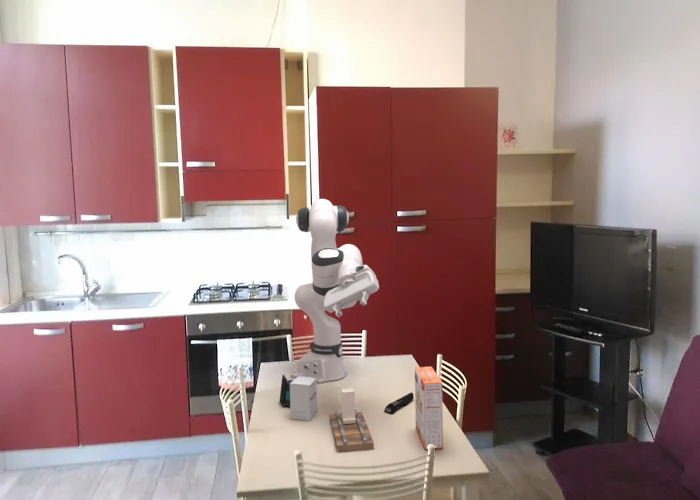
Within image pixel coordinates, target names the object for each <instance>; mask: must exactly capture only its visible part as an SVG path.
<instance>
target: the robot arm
mask: <svg viewBox="0 0 700 500" xmlns="http://www.w3.org/2000/svg"><path fill="white" fill-rule="evenodd" d="M349 219H350V215H349V211H348V210H347V208H346V207H345V206H343V205H339V204H338V205H337V204H336V205H333V204H332V202H331V201H330V200H328V199H326V198H320V199H316V200H314V201H313V203H312V204H311V206H308V207H307V206H305V207H301V208H299V210H298V211H297V214H296V217H295V221H296V225H297V227H298V229H299V231H300V232H303V233H309V232H310V235H311V248H310V255H311V271H312V273H311V274H312V283H311V282H310V283H306V284H302V285H299V286H298V287H297V288H296V290H295V293H294V301H295V305H296V306H297V307H298V308H299V309H300V310H302V311H303V312H304V313H305V314H306V315H307V316H308V317H309V319H310V321H311V324H312V329H313V341H312V342H311V343H310V344H308V348H309V349H310V350H308V352H306V353H305V354H304V355H303V356H301V357H300V358H299V359H298V361H297V366H296V368H294V370H293V371H292V372H291V377H292V378H295V379H296V378H297V377H298V376H299V377H312V378H317V384H318V383H319V384H320V383H326V382H332V381H337V380H340V379H343V378H344V377H345V376H346V375H347V374H346V370H345V367H344V362H343V341H342V336H341V335H342V333H341V331H342V330H341V329H342V328H341V323H340V321H339V320H338V319H336V318H334V317H332V316H329V315H328V314H327V313H326V312H328V313H329V314H332V313H334V312H335V316H336V317H337V318H340V317H342V316H343V311H342V310H344V309H348V308H352V307H354V306H355V305H356V304H357V302H358V301H359V304H360V305H361V306H362V307H364V306H366V305H367V304H368V303H367V302H368V299H369V298H370V295H372V294H374V293H376V292H378V290H380V285H379V280H378V279H377V275H376V273H375V272H374V271H373V269H372V268H370V267H369V266H368V265H367V264H363V256H362V253H361V251H360V249H359V248H358V247H357V246H356V245H355V244H351V243H347V244H346V243H345V244H343V245H341V246H340V247H337V242H336V235H337V233H338V236H339V235H341V233H343V231H344V230H346V228H347V227H348V224H349ZM325 311H326V312H325Z"/></svg>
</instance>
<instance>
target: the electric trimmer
mask: <svg viewBox="0 0 700 500" xmlns="http://www.w3.org/2000/svg"><path fill="white" fill-rule="evenodd" d="M414 396H415V395H414V393H413V392H412V391H411V392H409V393H407V394H405V395H404V396H402V397H400V398H398V399H396V400H394V401H391V402H389V403H388V404H387V405H386V406H385V407H384V410H383V412H384V413H385V414H388V415H394V414H395V412H396V411H397V410H399V409H400V408H402V407H405V406H407V405H409V403H410V402H412V401H413V400H414V399H415V397H414Z"/></svg>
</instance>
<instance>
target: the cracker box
mask: <svg viewBox="0 0 700 500" xmlns="http://www.w3.org/2000/svg"><path fill="white" fill-rule="evenodd" d="M414 387H415V389H414V391H415V392H414V396H415V397H414V399H415V402H414V403H415V404H414V405H415V406H414V407H415V429H416V431H417V435H418V437H419V439H420V441H421V444H422V447H423V449H424V450H425V451H426V450H428V449H427V446H428V445H429V444H433V445H435V446H436V449H435V450H437V449H439V450H440V449H441V450H442V449H443V447H444V441H443V440H444V439H443V437H444V436H443V435H444V434H443V433H444V431H443V430H444V428H443V423H444V422H443V417H444V416H443V412H444V411H443V382H442V380H441V379H440V377H439V375H438V374H437V373H436V371H435V370H434V368H433V366H416V367H414Z"/></svg>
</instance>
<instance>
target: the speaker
mask: <svg viewBox="0 0 700 500" xmlns="http://www.w3.org/2000/svg"><path fill="white" fill-rule="evenodd" d="M293 380H294V379H287V378H286V376H285V374H282V377H281V386H280V395H279V401H278V402H279V404H280V405H281V407H282V408H285V406H287V407H290V383H291V382H292V381H293Z"/></svg>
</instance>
